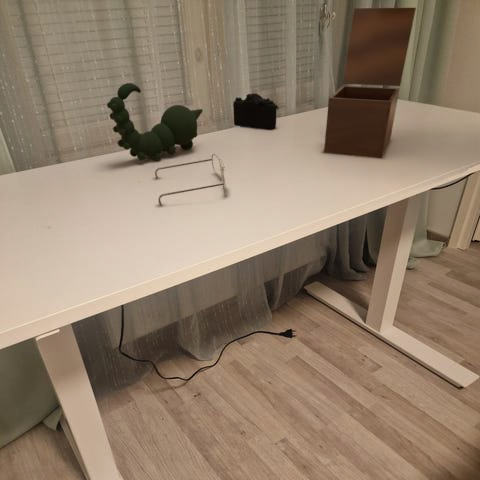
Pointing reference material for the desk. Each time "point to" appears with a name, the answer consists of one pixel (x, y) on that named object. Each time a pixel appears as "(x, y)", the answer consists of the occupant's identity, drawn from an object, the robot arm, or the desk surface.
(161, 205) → the eyeglasses
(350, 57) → the lid
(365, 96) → the chest
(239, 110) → the film camera
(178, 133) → the toy figurine
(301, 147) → the desk surface
